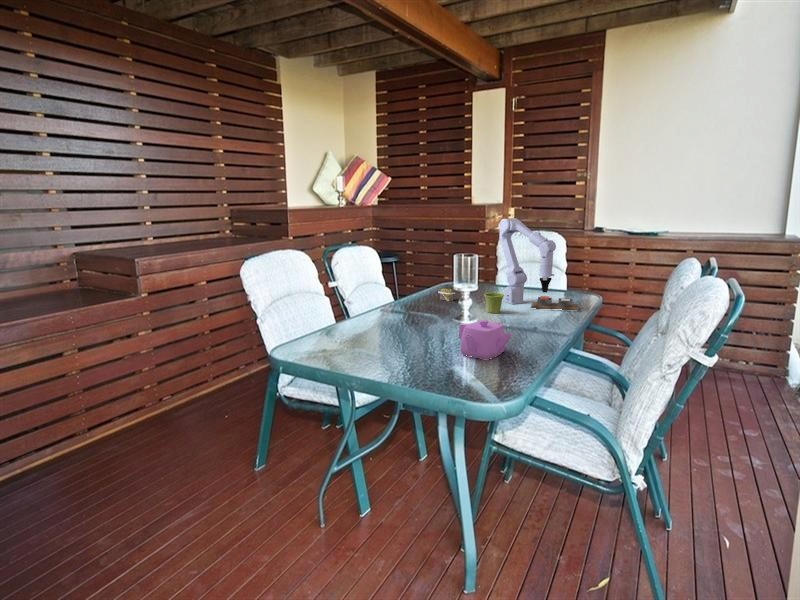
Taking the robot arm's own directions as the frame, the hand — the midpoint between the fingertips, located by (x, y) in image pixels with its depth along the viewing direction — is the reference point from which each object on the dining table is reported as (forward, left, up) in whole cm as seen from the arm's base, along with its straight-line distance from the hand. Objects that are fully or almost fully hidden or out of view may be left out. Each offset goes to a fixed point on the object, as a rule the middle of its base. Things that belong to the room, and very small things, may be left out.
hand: (544, 292), depth 252 cm
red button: (0, 0, -5) cm, 5 cm away
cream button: (+7, -7, -6) cm, 12 cm away
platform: (-35, +37, -8) cm, 52 cm away
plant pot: (-28, +3, -8) cm, 30 cm away
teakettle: (-70, -48, -8) cm, 85 cm away
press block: (+4, -4, -8) cm, 9 cm away
